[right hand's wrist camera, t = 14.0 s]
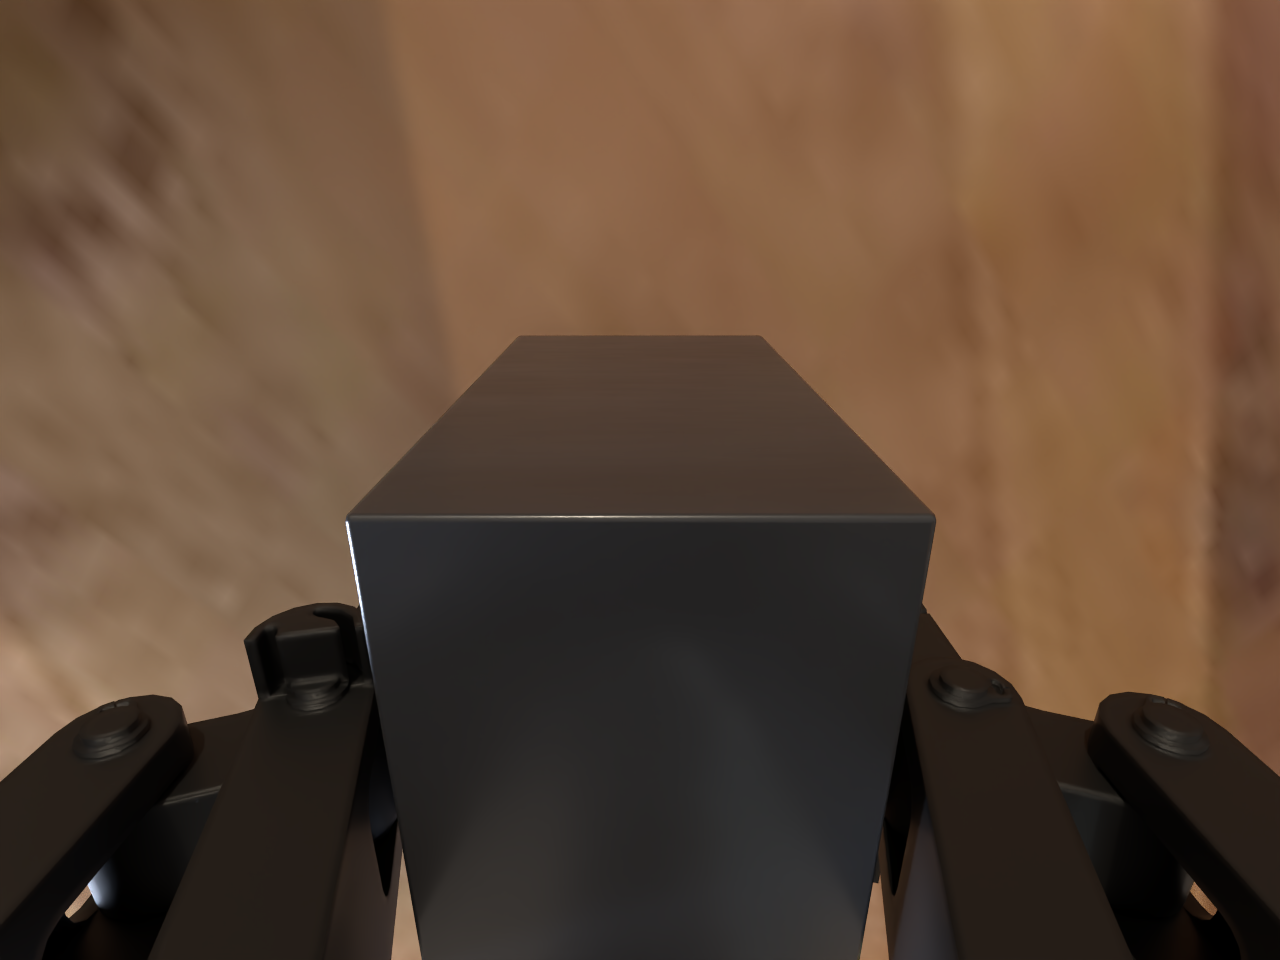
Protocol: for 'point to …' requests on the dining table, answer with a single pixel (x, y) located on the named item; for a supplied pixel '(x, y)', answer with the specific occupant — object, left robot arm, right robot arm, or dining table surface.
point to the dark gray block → (640, 655)
